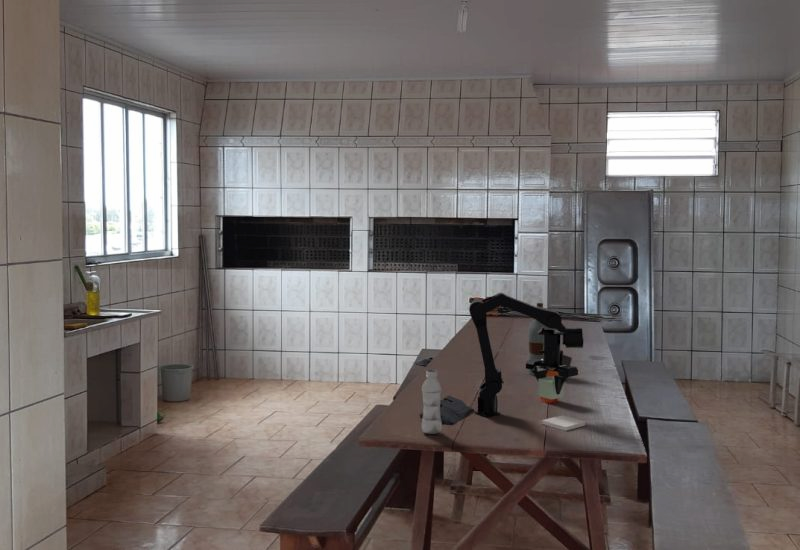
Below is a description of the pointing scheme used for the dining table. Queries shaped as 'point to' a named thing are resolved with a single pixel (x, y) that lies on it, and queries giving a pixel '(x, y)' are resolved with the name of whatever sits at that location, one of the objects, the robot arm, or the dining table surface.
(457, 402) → the dark slate chunk
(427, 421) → the plastic bottle
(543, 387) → the cube
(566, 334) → the robot arm
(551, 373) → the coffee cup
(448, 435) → the dining table surface
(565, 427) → the tile
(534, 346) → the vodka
